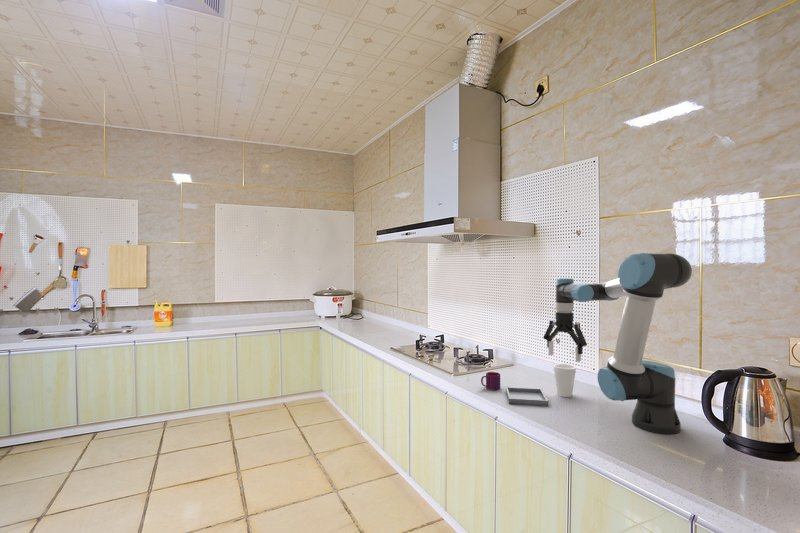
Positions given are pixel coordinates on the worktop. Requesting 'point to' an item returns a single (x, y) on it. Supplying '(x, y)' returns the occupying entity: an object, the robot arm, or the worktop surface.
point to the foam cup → (564, 379)
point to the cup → (492, 380)
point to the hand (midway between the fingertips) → (564, 358)
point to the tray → (526, 396)
